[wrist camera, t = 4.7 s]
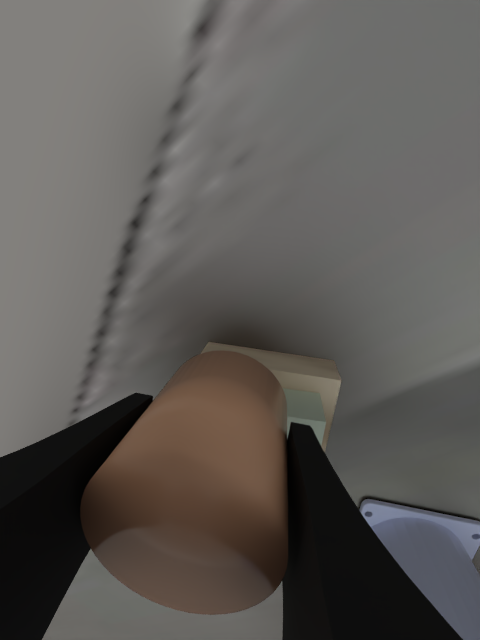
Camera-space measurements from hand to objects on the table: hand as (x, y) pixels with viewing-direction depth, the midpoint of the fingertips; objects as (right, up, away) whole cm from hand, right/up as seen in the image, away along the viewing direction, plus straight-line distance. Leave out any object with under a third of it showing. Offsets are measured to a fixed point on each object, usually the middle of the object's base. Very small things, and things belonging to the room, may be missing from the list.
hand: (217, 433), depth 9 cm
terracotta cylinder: (0, +1, +1) cm, 1 cm away
